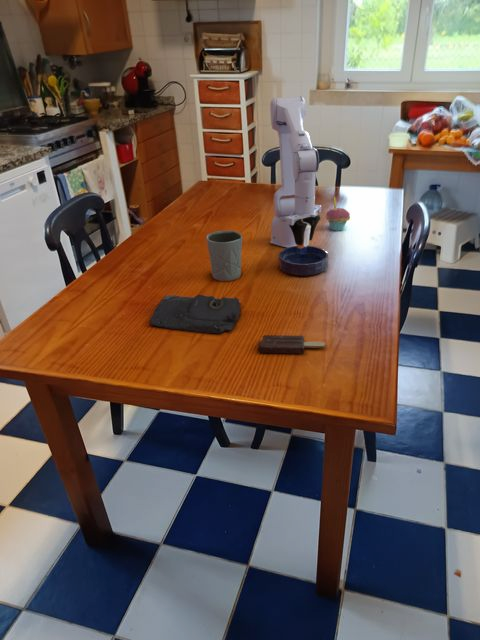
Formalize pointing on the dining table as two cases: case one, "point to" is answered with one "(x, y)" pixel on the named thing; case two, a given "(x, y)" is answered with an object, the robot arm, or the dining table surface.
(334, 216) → the cupcake
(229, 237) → the grey green cup
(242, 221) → the dining table surface
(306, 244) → the milkshake
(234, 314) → the black snap pouch
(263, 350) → the ice cream bar
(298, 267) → the bowl
